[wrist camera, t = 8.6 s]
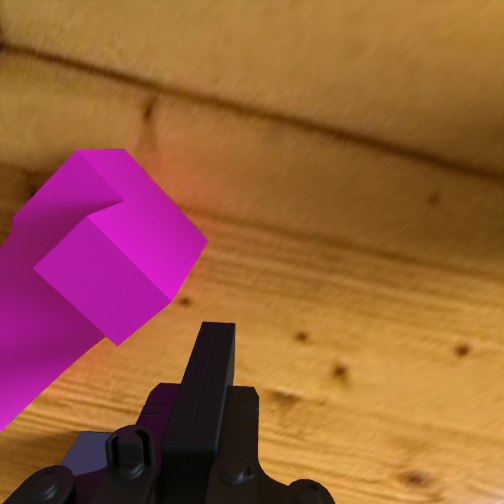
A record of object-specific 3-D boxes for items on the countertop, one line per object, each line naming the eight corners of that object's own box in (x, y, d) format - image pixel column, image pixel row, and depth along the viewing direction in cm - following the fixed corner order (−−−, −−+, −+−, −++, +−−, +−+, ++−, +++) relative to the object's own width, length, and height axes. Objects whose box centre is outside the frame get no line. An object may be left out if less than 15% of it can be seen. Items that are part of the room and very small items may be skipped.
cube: (81, 430, 23) (32, 506, 18) (155, 434, 22) (125, 512, 18) (89, 486, 24) (46, 570, 19) (159, 490, 24) (133, 576, 19)
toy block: (124, 148, 17) (22, 151, 10) (208, 240, 18) (171, 301, 11) (-45, 318, 20) (-212, 412, 13) (36, 386, 22) (-77, 505, 15)
